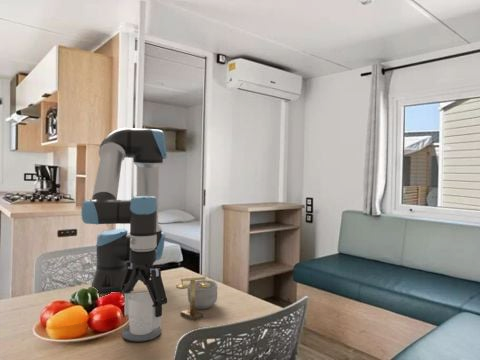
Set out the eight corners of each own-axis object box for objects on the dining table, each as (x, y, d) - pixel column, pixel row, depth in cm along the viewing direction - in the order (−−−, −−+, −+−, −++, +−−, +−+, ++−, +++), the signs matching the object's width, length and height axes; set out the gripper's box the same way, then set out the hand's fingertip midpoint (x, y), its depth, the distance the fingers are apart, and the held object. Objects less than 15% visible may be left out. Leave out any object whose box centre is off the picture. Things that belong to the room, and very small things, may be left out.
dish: (114, 334, 106) (114, 330, 106) (146, 323, 114) (146, 319, 114) (136, 347, 99) (136, 343, 99) (168, 334, 107) (168, 330, 107)
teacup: (212, 313, 123) (212, 290, 123) (182, 310, 126) (182, 287, 125) (222, 299, 137) (222, 278, 137) (195, 296, 139) (195, 276, 139)
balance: (173, 312, 124) (174, 270, 123) (182, 308, 127) (182, 268, 126) (203, 324, 114) (204, 279, 114) (211, 320, 117) (212, 276, 117)
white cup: (144, 322, 112) (145, 290, 112) (160, 330, 107) (161, 296, 107) (122, 330, 106) (122, 296, 106) (138, 339, 101) (138, 303, 101)
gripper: (108, 244, 111) (107, 312, 112) (159, 258, 95) (157, 338, 96) (130, 240, 117) (129, 305, 117) (181, 253, 101) (179, 328, 101)
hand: (142, 320), depth 106 cm, fingers open, 13 cm apart
